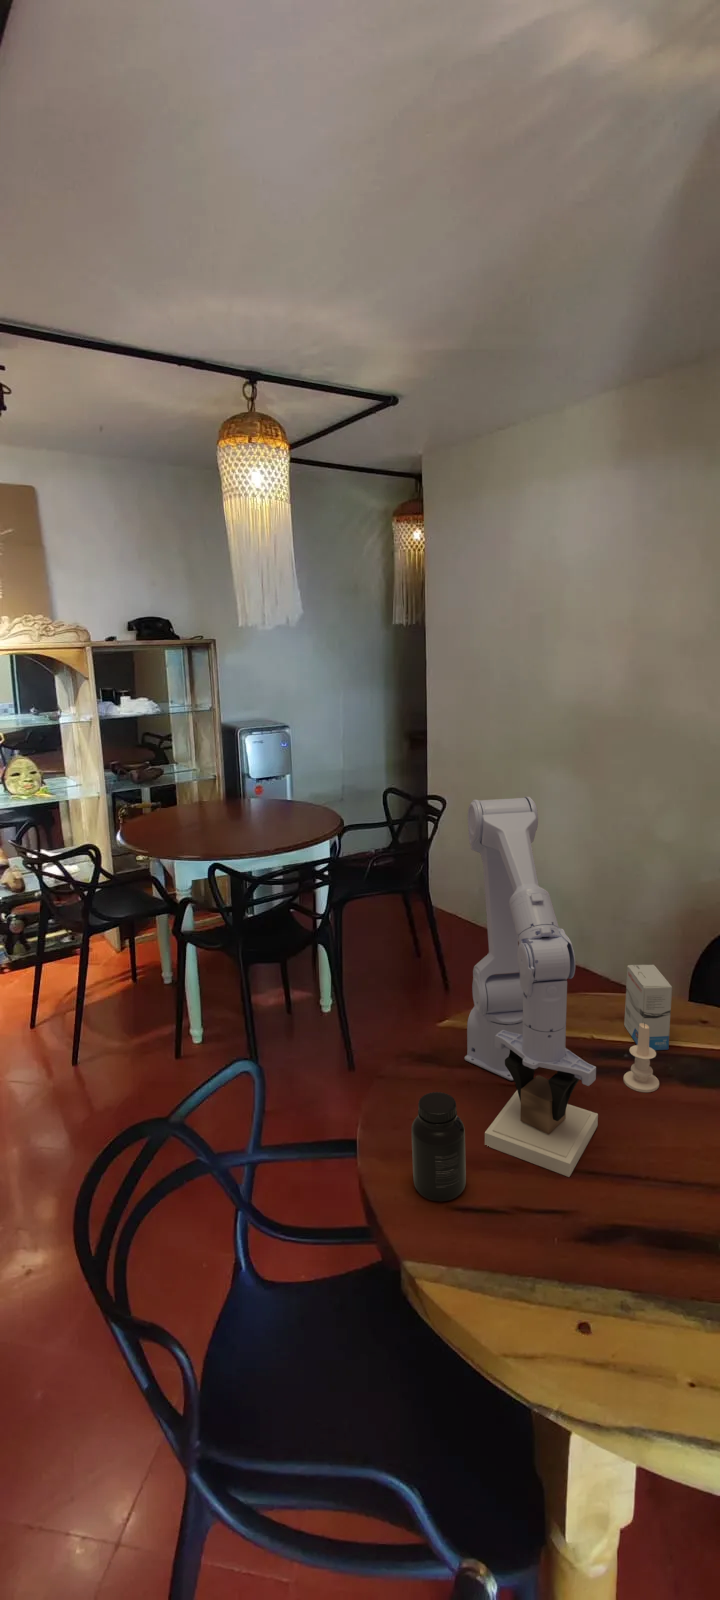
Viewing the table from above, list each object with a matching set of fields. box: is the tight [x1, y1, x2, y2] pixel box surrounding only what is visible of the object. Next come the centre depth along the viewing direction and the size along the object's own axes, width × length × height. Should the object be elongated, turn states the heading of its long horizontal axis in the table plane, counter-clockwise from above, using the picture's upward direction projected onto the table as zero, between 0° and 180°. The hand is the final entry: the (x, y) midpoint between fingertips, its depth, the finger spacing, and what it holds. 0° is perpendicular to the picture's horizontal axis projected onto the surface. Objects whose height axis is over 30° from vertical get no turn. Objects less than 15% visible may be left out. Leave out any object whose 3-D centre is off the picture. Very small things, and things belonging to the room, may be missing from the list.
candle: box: [623, 1022, 660, 1093], centre depth 117 cm, size 5×5×10 cm
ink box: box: [624, 964, 673, 1051], centre depth 130 cm, size 8×5×12 cm, turn 179°
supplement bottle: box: [411, 1091, 467, 1202], centre depth 98 cm, size 7×7×12 cm
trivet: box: [484, 1090, 599, 1178], centre depth 107 cm, size 12×12×2 cm
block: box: [520, 1074, 566, 1134], centre depth 106 cm, size 4×4×5 cm
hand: (542, 1109), depth 106 cm, fingers closed on block, 4 cm apart
